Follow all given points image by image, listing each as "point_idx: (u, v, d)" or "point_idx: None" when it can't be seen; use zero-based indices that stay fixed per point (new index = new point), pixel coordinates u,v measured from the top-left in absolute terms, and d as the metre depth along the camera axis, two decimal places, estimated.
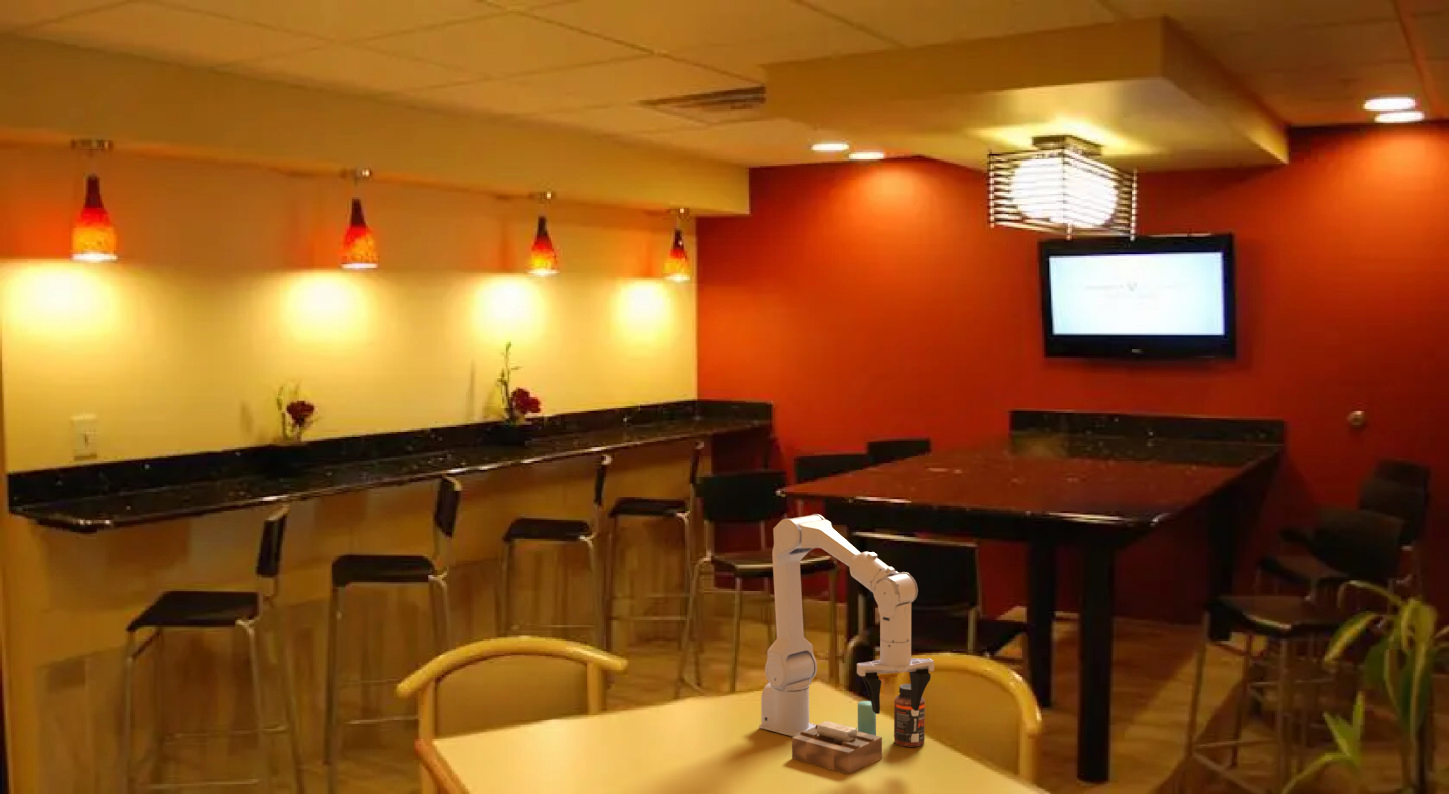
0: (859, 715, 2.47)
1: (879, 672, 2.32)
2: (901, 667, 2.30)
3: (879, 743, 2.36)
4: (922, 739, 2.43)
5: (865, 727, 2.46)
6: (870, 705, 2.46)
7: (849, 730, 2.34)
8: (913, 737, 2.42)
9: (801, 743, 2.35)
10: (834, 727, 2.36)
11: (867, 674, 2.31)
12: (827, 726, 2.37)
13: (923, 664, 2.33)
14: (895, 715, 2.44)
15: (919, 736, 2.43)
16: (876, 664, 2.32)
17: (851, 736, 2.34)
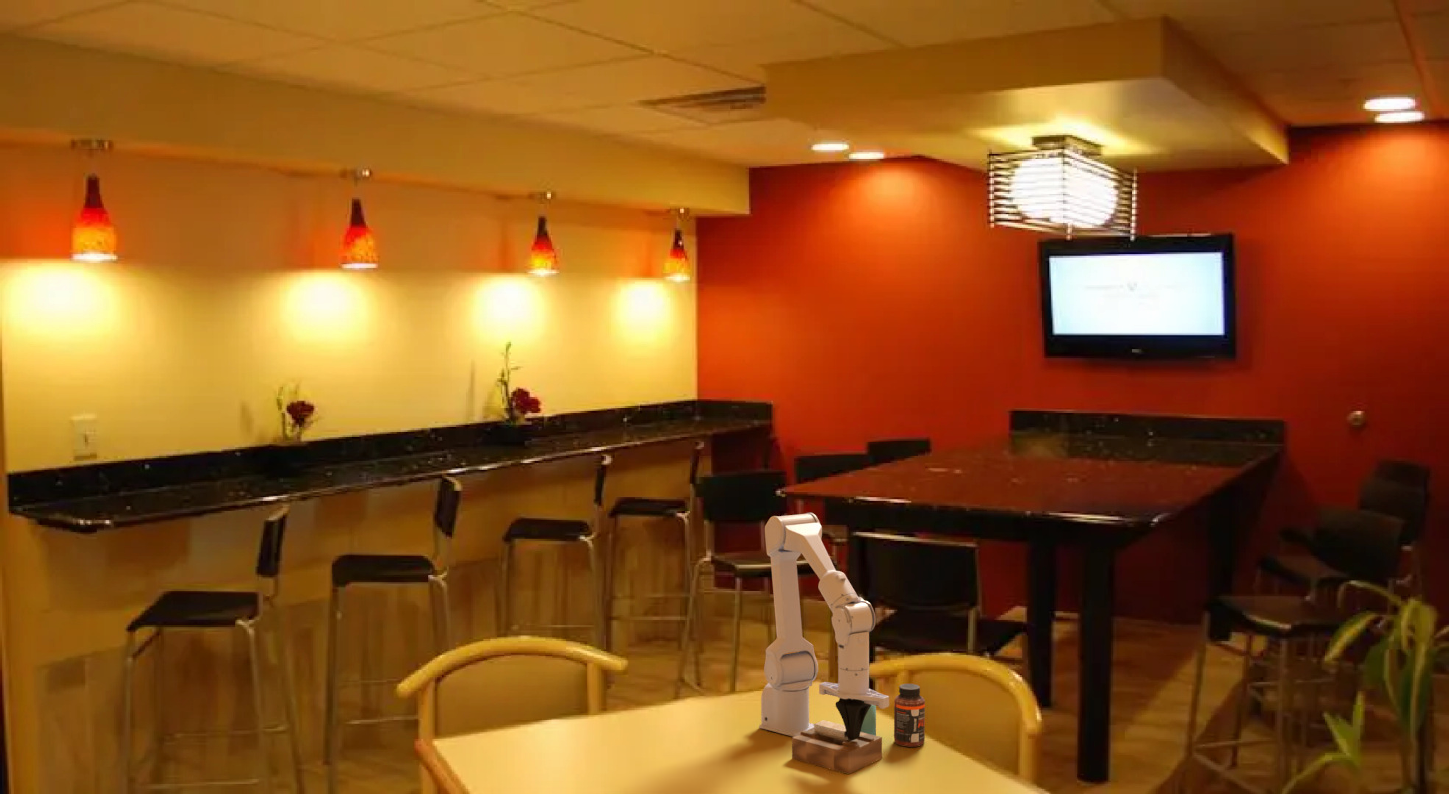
0: None
1: (838, 695, 2.36)
2: (842, 694, 2.31)
3: (879, 743, 2.36)
4: (922, 739, 2.43)
5: (865, 727, 2.46)
6: None
7: None
8: (913, 737, 2.42)
9: (801, 743, 2.35)
10: (831, 727, 2.36)
11: None
12: (824, 725, 2.37)
13: (871, 698, 2.29)
14: (895, 715, 2.44)
15: (919, 736, 2.43)
16: (836, 687, 2.36)
17: None
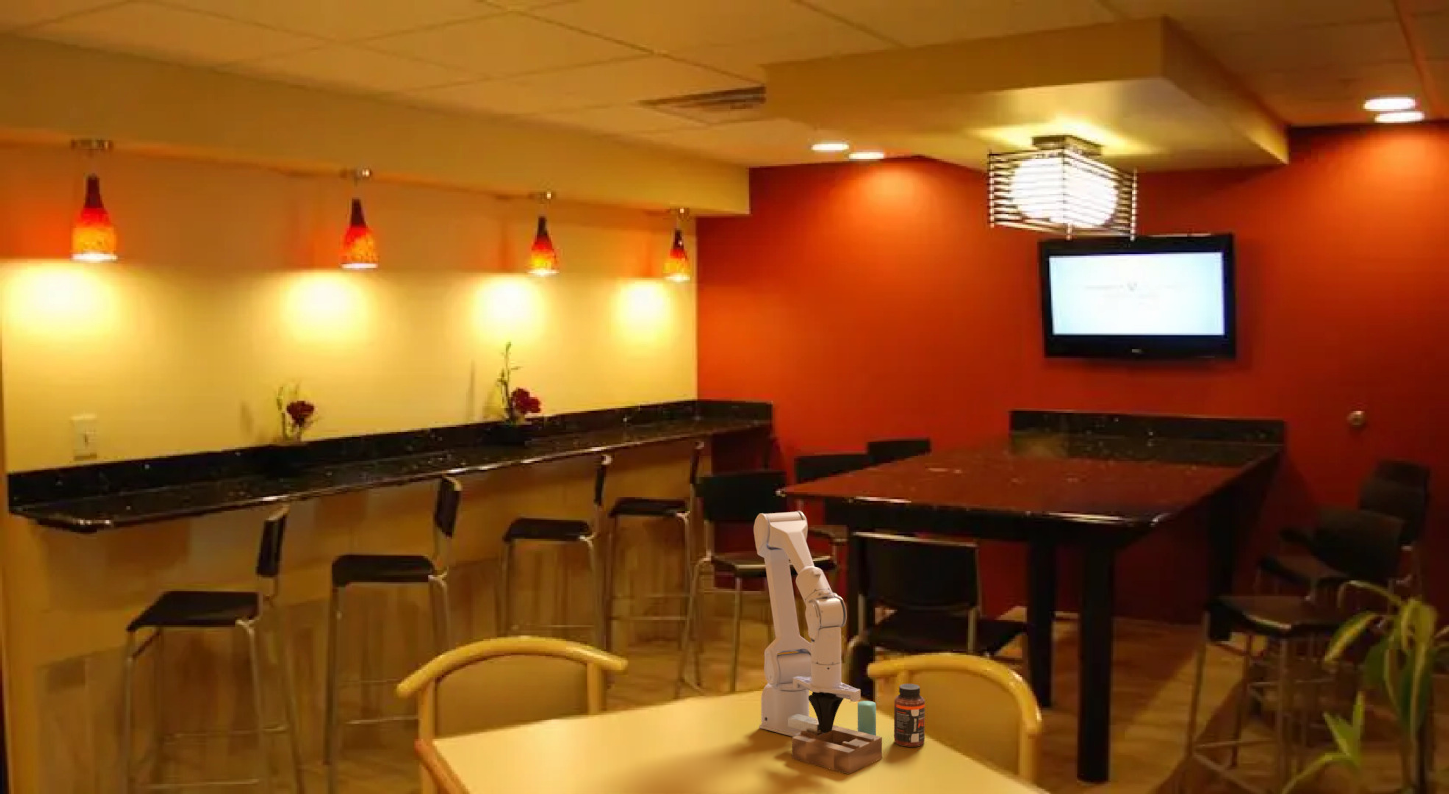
0: (859, 715, 2.47)
1: None
2: (814, 687, 2.35)
3: (879, 743, 2.36)
4: (922, 739, 2.43)
5: (865, 727, 2.46)
6: (870, 705, 2.46)
7: None
8: (913, 737, 2.42)
9: (801, 743, 2.35)
10: (804, 720, 2.40)
11: (799, 687, 2.41)
12: (797, 719, 2.41)
13: (843, 692, 2.33)
14: (895, 715, 2.44)
15: (919, 736, 2.43)
16: (809, 680, 2.40)
17: None
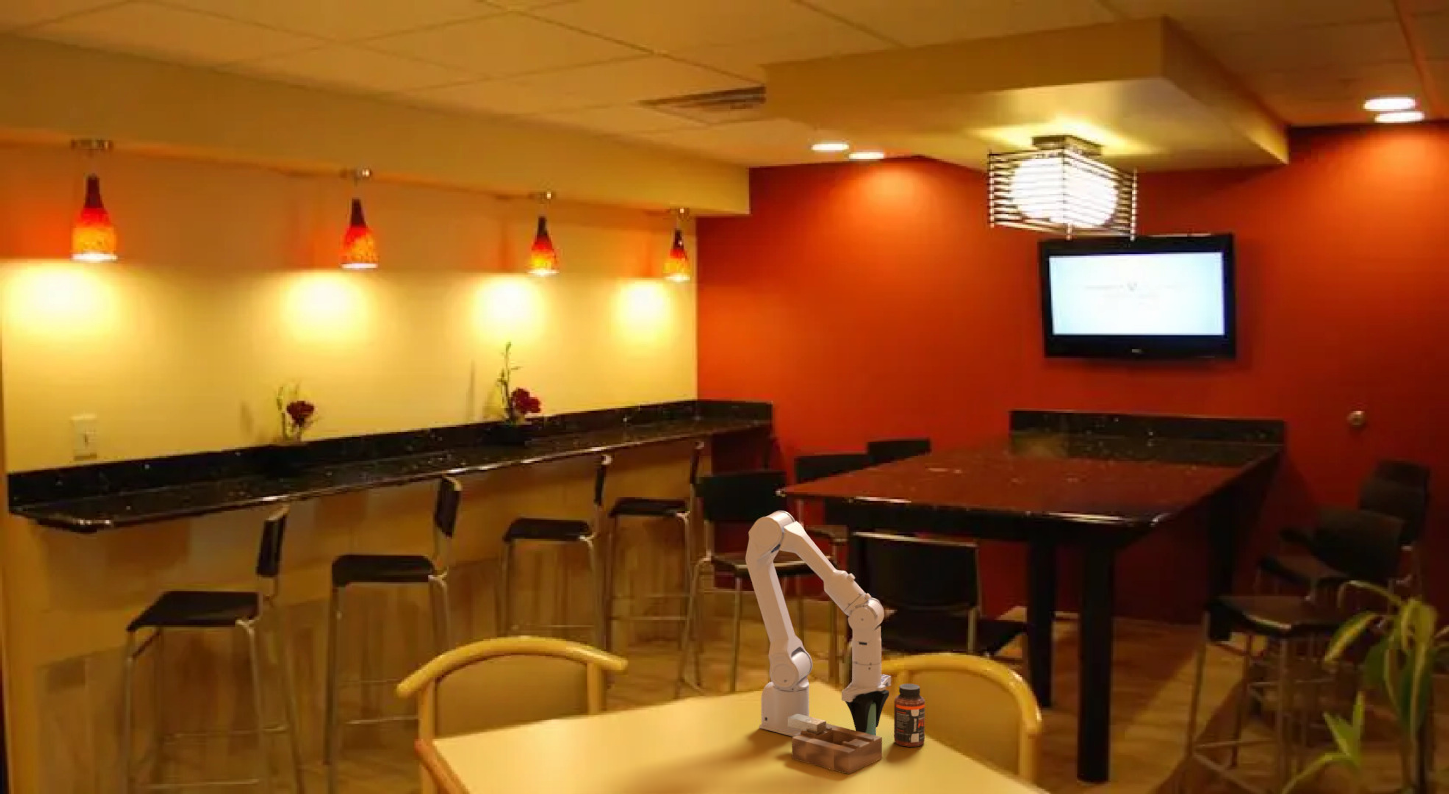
0: None
1: (858, 695, 2.45)
2: (881, 686, 2.45)
3: (879, 743, 2.36)
4: (922, 739, 2.43)
5: None
6: None
7: (819, 722, 2.39)
8: (913, 737, 2.42)
9: (801, 743, 2.35)
10: (804, 720, 2.40)
11: (853, 699, 2.43)
12: (797, 719, 2.41)
13: (886, 680, 2.50)
14: (895, 715, 2.44)
15: (919, 736, 2.43)
16: (856, 688, 2.44)
17: (820, 728, 2.39)
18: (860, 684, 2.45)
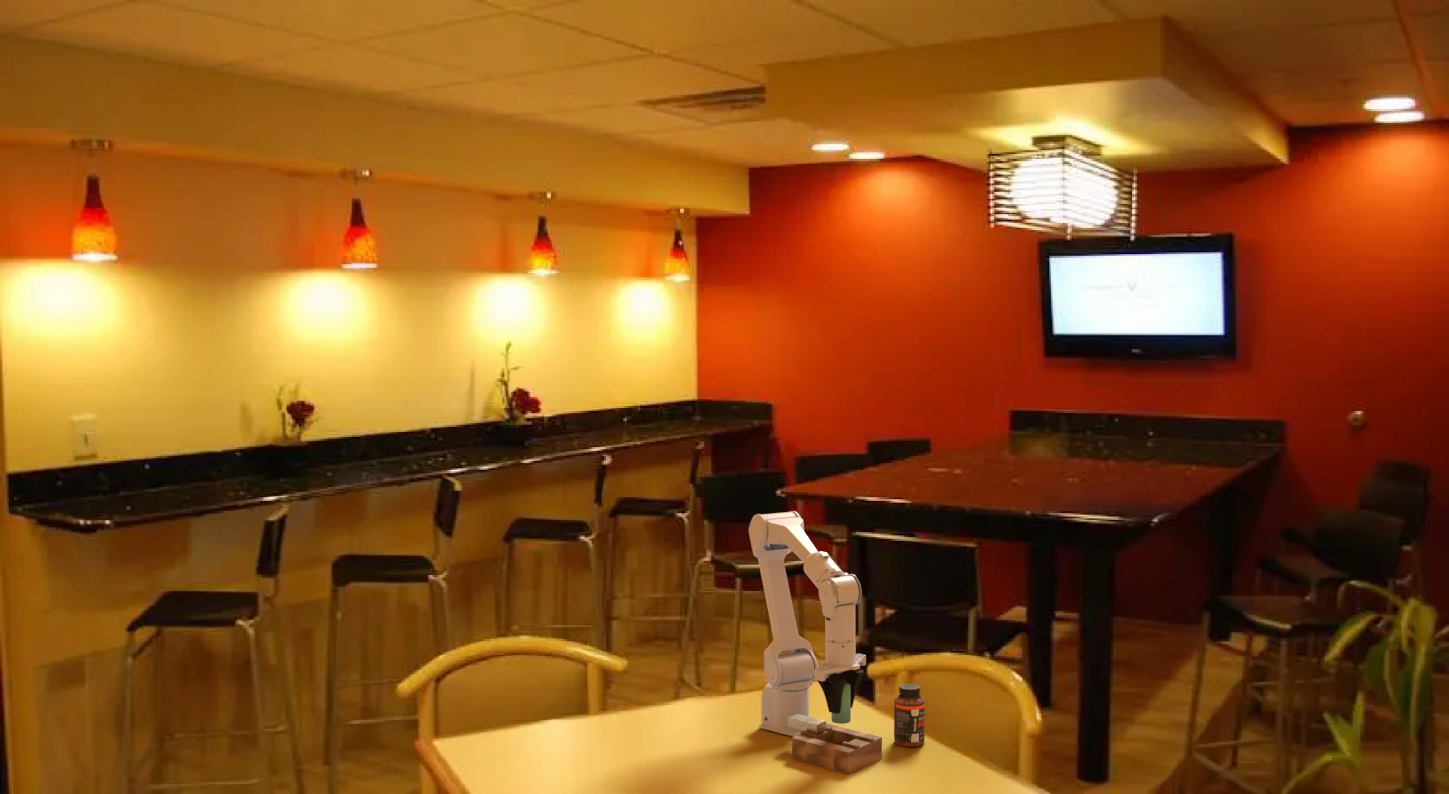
0: None
1: (831, 674, 2.34)
2: (855, 665, 2.35)
3: (879, 743, 2.36)
4: (922, 739, 2.43)
5: None
6: (844, 686, 2.36)
7: (819, 722, 2.39)
8: (913, 737, 2.42)
9: (801, 743, 2.35)
10: (804, 720, 2.40)
11: (826, 678, 2.32)
12: (797, 719, 2.41)
13: (861, 659, 2.40)
14: (895, 715, 2.44)
15: (919, 736, 2.43)
16: (829, 667, 2.34)
17: (820, 728, 2.39)
18: (833, 663, 2.35)
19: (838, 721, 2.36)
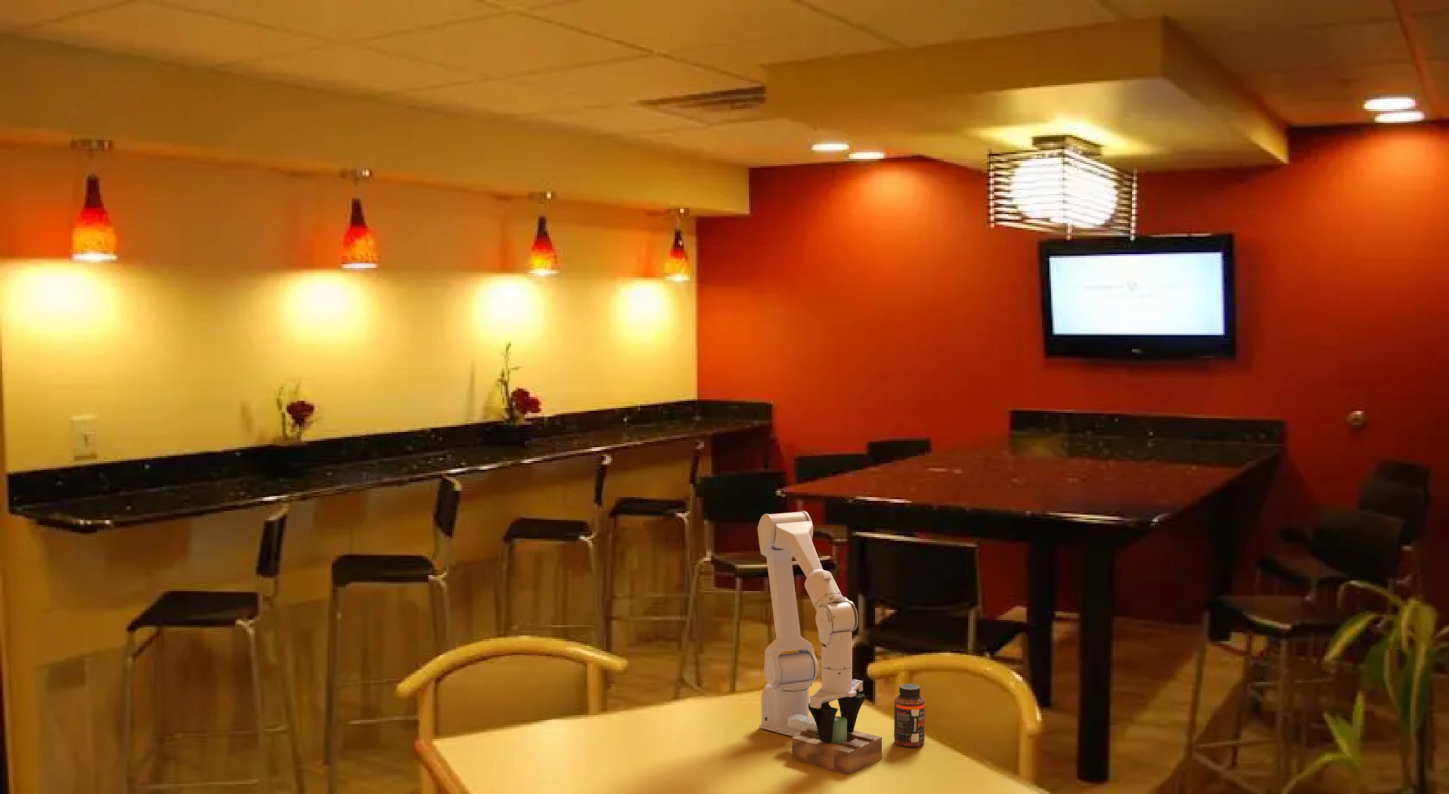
0: None
1: (828, 701, 2.34)
2: (851, 692, 2.34)
3: (879, 743, 2.36)
4: (922, 739, 2.43)
5: None
6: (840, 722, 2.35)
7: None
8: (913, 737, 2.42)
9: (801, 743, 2.35)
10: (804, 720, 2.40)
11: (822, 705, 2.31)
12: (797, 719, 2.41)
13: (858, 686, 2.39)
14: (895, 715, 2.44)
15: (919, 736, 2.43)
16: (825, 694, 2.33)
17: None
18: (829, 690, 2.34)
19: None
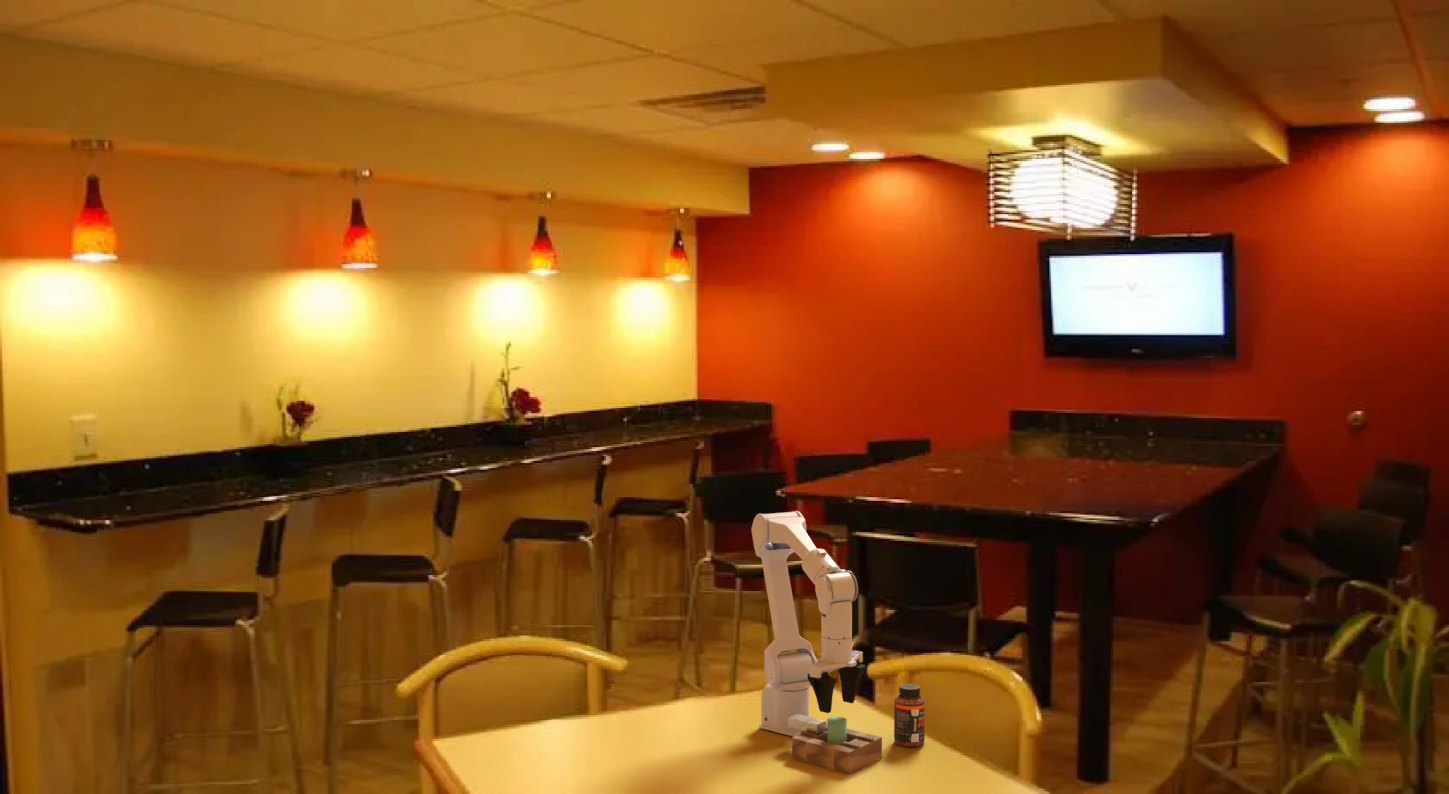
0: (829, 731, 2.36)
1: (827, 671, 2.33)
2: (851, 662, 2.33)
3: (879, 743, 2.36)
4: (922, 739, 2.43)
5: None
6: (840, 721, 2.35)
7: (819, 722, 2.39)
8: (913, 737, 2.42)
9: (801, 743, 2.35)
10: (804, 720, 2.40)
11: (822, 675, 2.31)
12: (797, 719, 2.41)
13: (857, 656, 2.39)
14: (895, 715, 2.44)
15: (919, 736, 2.43)
16: (825, 664, 2.33)
17: (820, 728, 2.39)
18: (829, 660, 2.33)
19: None
